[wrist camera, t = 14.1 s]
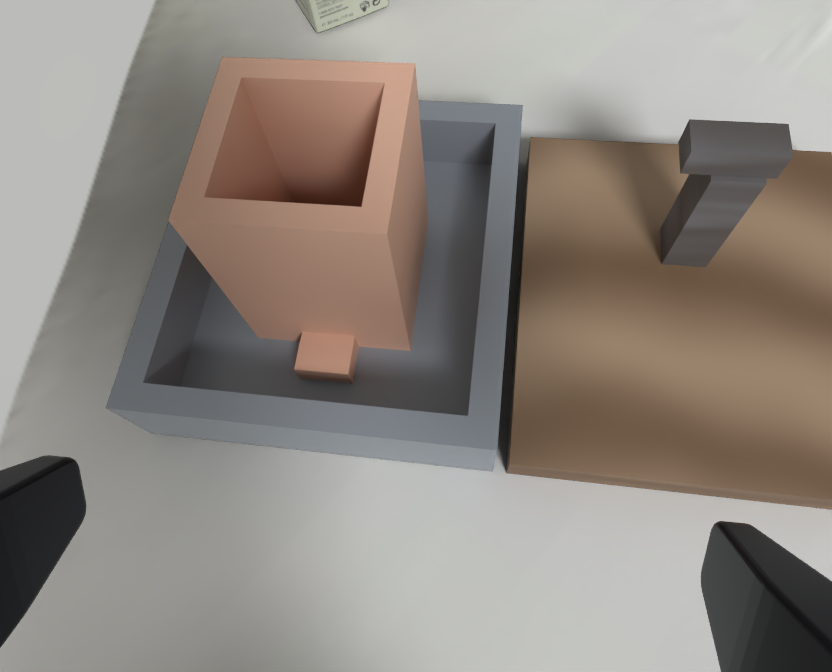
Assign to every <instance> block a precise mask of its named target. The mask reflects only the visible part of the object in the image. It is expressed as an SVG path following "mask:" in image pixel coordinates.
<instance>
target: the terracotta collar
mask: <svg viewBox="0 0 832 672" xmlns="http://www.w3.org/2000/svg"><path fill="white" fill-rule="evenodd" d="M168 221H169V222H170V223H171V224H172V226H173V227H174V228H175V230H176V231H177V232H178V234H179V235H180V236H181V237H182V239H183V240H184V241H185V243H186V244H187V245H188V247H189V248H190V249H191V251H192V252H193V253H194V254H195V256H196V257H197V258H198V260H199V261H200V262H201V264H202V265H203V266H204V267H205V269H206V270H207V271H208V273H209V274H210V275H211V277H212V278H213V279H214V280H215V282H216V283H217V284H218V286H219V287H220V288H221V290H222V291H223V292H224V293H225V295H226V296H227V297H228V299H229V300H230V301H231V303H232V304H233V305H234V307H235V308H236V309H237V310H238V312H239V313H240V314H241V316H242V317H243V318H244V320H245V321H246V322H247V323H248V325H249V326H250V327H251V329H252V330H253V331H254V333H255V334H256V335H257V336H258V338H266V339H278V340H289V341H300V344H299V349H298V353H297V358H296V363H295V367H294V370H295V371H296V373H297V374H298V375H299V377H300V378H301V379H310V380H321V381H332V382H342V383H353V379H354V373H355V367H356V361H357V355H358V349H359V347H370V348H382V349H393V350H405V351H411V345H412V337H413V330H414V322H415V315H416V307H417V300H418V292H419V285H420V277H421V270H422V263H423V255H424V248H425V240H426V233H427V225H428V209H427V197H426V185H425V174H424V162H423V150H422V139H421V127H420V116H419V104H418V92H417V81H416V69H415V64H413V63H384V62H354V61H324V60H295V59H265V58H235V57H222V60H221V63H220V66H219V69H218V72H217V75H216V78H215V81H214V84H213V87H212V90H211V93H210V96H209V99H208V102H207V105H206V108H205V111H204V114H203V117H202V120H201V123H200V126H199V129H198V132H197V135H196V138H195V141H194V144H193V147H192V150H191V153H190V156H189V159H188V162H187V165H186V168H185V171H184V174H183V177H182V180H181V183H180V186H179V189H178V192H177V195H176V198H175V201H174V204H173V207H172V210H171V213H170V216H169V219H168Z"/></svg>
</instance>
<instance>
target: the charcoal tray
mask: <svg viewBox="0 0 832 672" xmlns="http://www.w3.org/2000/svg"><path fill="white" fill-rule="evenodd" d="M418 104H419V116H420V127H421V139H422V150H423V162H424V174H425V185H426V197H427V209H428V225H427V233H426V240H425V248H424V255H423V263H422V270H421V277H420V285H419V292H418V300H417V307H416V315H415V322H414V330H413V337H412V345H411V351H405V350H393V349H382V348H370V347H359V349H358V355H357V361H356V367H355V373H354V379H353V383H342V382H332V381H321V380H310V379H301V378H300V377H299V375H298V374H297V373H296V371H295V370H294V367H295V363H296V358H297V353H298V349H299V344H300V341H289V340H278V339H266V338H258V336H257V335H256V334H255V333H254V331H253V330H252V329H251V327H250V326H249V325H248V323H247V322H246V321H245V320H244V318H243V317H242V316H241V314H240V313H239V312H238V310H237V309H236V308H235V307H234V305H233V304H232V303H231V301H230V300H229V299H228V297H227V296H226V295H225V293H224V292H223V291H222V290H221V288H220V287H219V286H218V284H217V283H216V282H215V280H214V279H213V278H212V277H211V275H210V274H209V273H208V271H207V270H206V269H205V267H204V266H203V265H202V264H201V262H200V261H199V260H198V258H197V257H196V256H195V254H194V253H193V252H192V251H191V249H190V248H189V247H188V245H187V244H186V243H185V241H184V240H183V239H182V237H181V236H180V235H179V234H178V232H177V231H176V230H175V228H174V227H173V226H172V224H171V223H170V222H169V223H168V226H167V228H166V231H165V234H164V237H163V240H162V243H161V246H160V249H159V252H158V255H157V258H156V261H155V264H154V267H153V270H152V273H151V276H150V279H149V282H148V285H147V288H146V291H145V294H144V296H143V299H142V302H141V305H140V308H139V311H138V314H137V317H136V320H135V323H134V326H133V329H132V332H131V335H130V338H129V341H128V344H127V347H126V350H125V353H124V356H123V359H122V362H121V365H120V367H119V370H118V373H117V376H116V379H115V382H114V385H113V388H112V391H111V394H110V397H109V400H108V403H107V406H106V409H108V410H110V411H112V412H114V413H115V414H117V415H119V416H121V417H123V418H125V419H126V420H128V421H130V422H132V423H134V424H136V425H137V426H139V427H141V428H143V429H145V430H147V431H148V432H150V433H153V434H162V435H171V436H180V437H189V438H198V439H207V440H216V441H225V442H234V443H243V444H252V445H260V446H269V447H278V448H287V449H296V450H305V451H314V452H323V453H332V454H341V455H350V456H359V457H368V458H377V459H386V460H395V461H403V462H412V463H421V464H430V465H439V466H448V467H457V468H466V469H475V470H484V471H493V467H494V462H495V458H496V454H497V448H498V435H499V421H500V407H501V394H502V380H503V367H504V353H505V339H506V326H507V312H508V299H509V285H510V271H511V258H512V244H513V230H514V217H515V203H516V190H517V176H518V162H519V149H520V135H521V121H522V108H523V105H510V104H487V103H465V102H442V101H419V100H418Z"/></svg>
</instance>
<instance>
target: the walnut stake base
mask: <svg viewBox="0 0 832 672" xmlns="http://www.w3.org/2000/svg"><path fill="white" fill-rule="evenodd" d="M506 473H511V474H520V475H529V476H538V477H547V478H555V479H564V480H573V481H582V482H591V483H600V484H609V485H618V486H627V487H636V488H645V489H654V490H663V491H672V492H681V493H690V494H698V495H707V496H716V497H725V498H734V499H743V500H752V501H761V502H770V503H779V504H788V505H797V506H806V507H815V508H824V509H832V153H831V152H816V151H796V150H792V144H791V138H790V131H789V124H776V123H754V122H732V121H710V120H689V121H688V124H687V126H686V128H685V130H684V132H683V134H682V136H681V138H680V140H679V145H676V144H656V143H636V142H616V141H596V140H576V139H556V138H536V137H531V138H530V145H529V152H528V158H527V171H526V186H525V201H524V216H523V231H522V246H521V261H520V276H519V291H518V306H517V321H516V336H515V351H514V366H513V381H512V396H511V411H510V426H509V441H508V456H507V471H506Z"/></svg>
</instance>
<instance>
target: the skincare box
mask: <svg viewBox="0 0 832 672" xmlns="http://www.w3.org/2000/svg"><path fill="white" fill-rule="evenodd" d="M296 1H297V3H298V5H299V6H300V8H301V9H302V11H303V13H304V14H305V16H306V17H307V19H308V20H309V22H310V23H311V25H312V26H313V28H314V29H315V31H316V32H318V33H319V32H322V31H325V30H327V29H330V28H333V27H335V26H338V25H341V24H344V23H346V22H349V21H352V20H354V19H357V18H360V17H362V16H364V15H367V14H369V13H372V12H374V11H377V10H379V9H381V8H384V7H386V6H388V5H389V0H296Z"/></svg>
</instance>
